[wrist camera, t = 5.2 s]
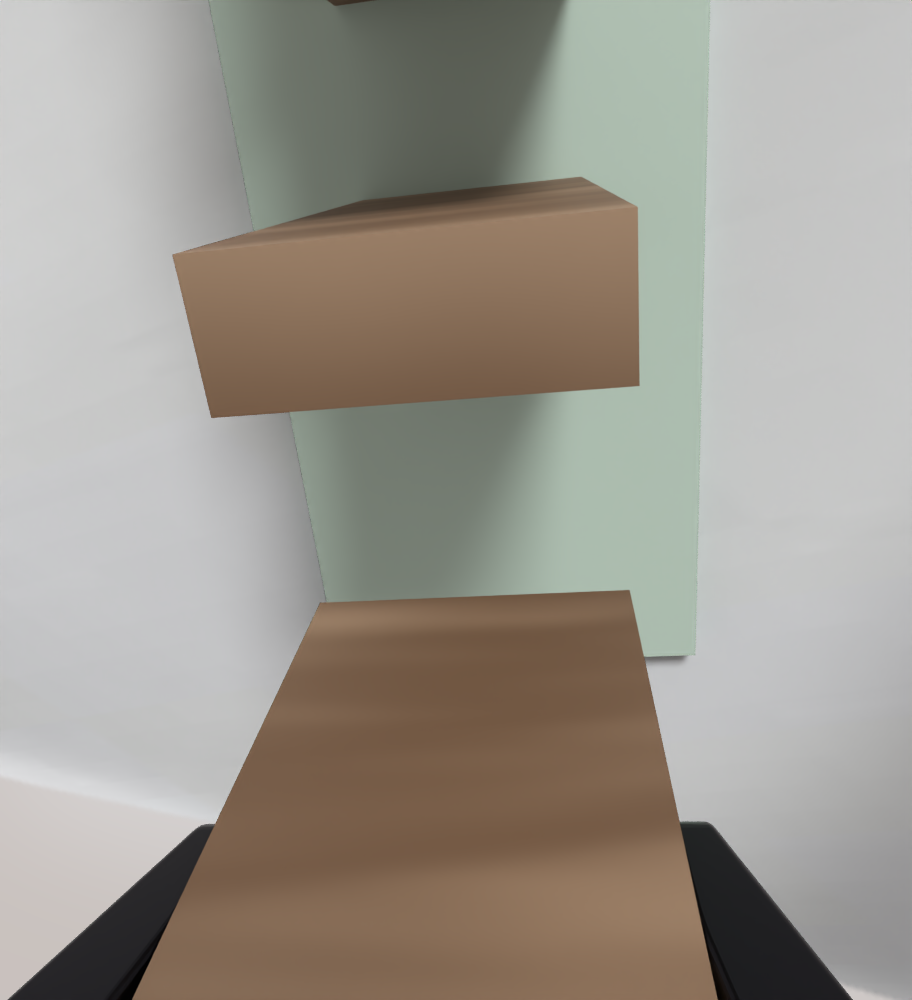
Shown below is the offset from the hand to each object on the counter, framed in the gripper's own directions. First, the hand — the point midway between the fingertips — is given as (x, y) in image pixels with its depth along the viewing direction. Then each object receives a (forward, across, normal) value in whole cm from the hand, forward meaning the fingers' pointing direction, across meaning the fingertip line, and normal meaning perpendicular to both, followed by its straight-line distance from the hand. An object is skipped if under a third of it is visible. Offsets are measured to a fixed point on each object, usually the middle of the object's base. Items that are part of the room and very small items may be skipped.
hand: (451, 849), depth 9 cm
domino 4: (+12, 0, -6) cm, 13 cm away
